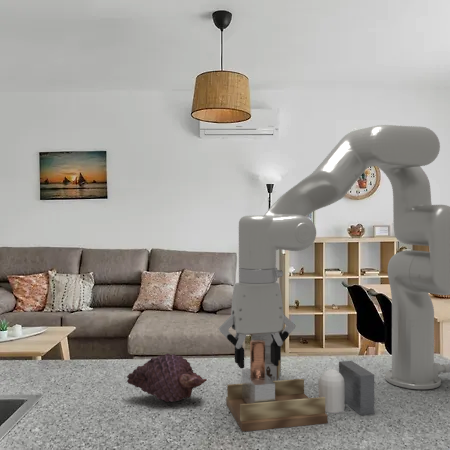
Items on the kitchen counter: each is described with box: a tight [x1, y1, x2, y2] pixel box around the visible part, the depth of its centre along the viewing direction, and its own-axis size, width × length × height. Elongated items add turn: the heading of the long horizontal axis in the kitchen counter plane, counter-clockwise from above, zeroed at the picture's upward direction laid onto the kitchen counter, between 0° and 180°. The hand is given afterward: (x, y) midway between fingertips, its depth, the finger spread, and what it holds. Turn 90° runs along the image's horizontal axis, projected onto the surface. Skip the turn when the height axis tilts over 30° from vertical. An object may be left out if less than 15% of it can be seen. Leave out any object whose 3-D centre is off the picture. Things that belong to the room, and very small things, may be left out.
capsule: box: [318, 368, 346, 414], centre depth 104 cm, size 5×5×8 cm
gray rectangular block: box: [338, 360, 375, 416], centre depth 105 cm, size 3×10×8 cm, turn 12°
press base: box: [225, 378, 329, 433], centre depth 101 cm, size 17×14×4 cm
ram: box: [241, 340, 275, 404], centre depth 100 cm, size 4×10×13 cm, turn 12°
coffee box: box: [250, 331, 282, 381], centre depth 121 cm, size 9×6×16 cm
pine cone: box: [126, 353, 208, 403], centre depth 108 cm, size 18×10×10 cm, turn 85°
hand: (257, 364), depth 100 cm, fingers open, 6 cm apart
